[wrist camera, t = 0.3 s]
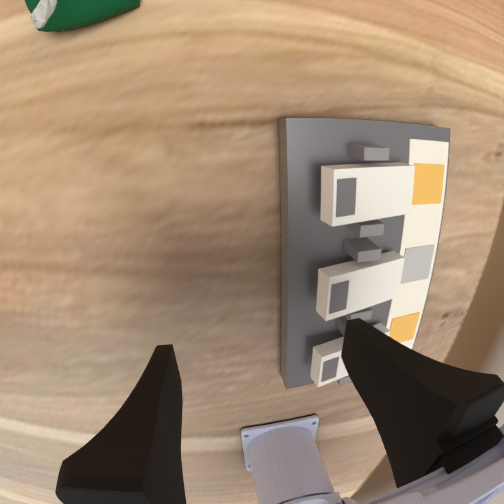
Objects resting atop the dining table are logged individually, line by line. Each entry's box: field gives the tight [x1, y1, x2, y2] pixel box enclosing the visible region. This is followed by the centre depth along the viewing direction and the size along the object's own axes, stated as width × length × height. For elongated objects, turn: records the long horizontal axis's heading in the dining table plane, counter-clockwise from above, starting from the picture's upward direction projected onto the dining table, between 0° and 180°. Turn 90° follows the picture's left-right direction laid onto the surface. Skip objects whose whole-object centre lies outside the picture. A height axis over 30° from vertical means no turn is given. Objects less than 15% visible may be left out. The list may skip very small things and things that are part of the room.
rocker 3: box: [310, 323, 390, 387], centre depth 22 cm, size 3×6×1 cm, turn 93°
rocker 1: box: [320, 162, 415, 227], centre depth 17 cm, size 3×6×1 cm, turn 93°
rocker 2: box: [316, 251, 405, 321], centre depth 20 cm, size 3×6×1 cm, turn 92°
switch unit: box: [278, 118, 450, 389], centre depth 21 cm, size 20×12×4 cm, turn 3°
